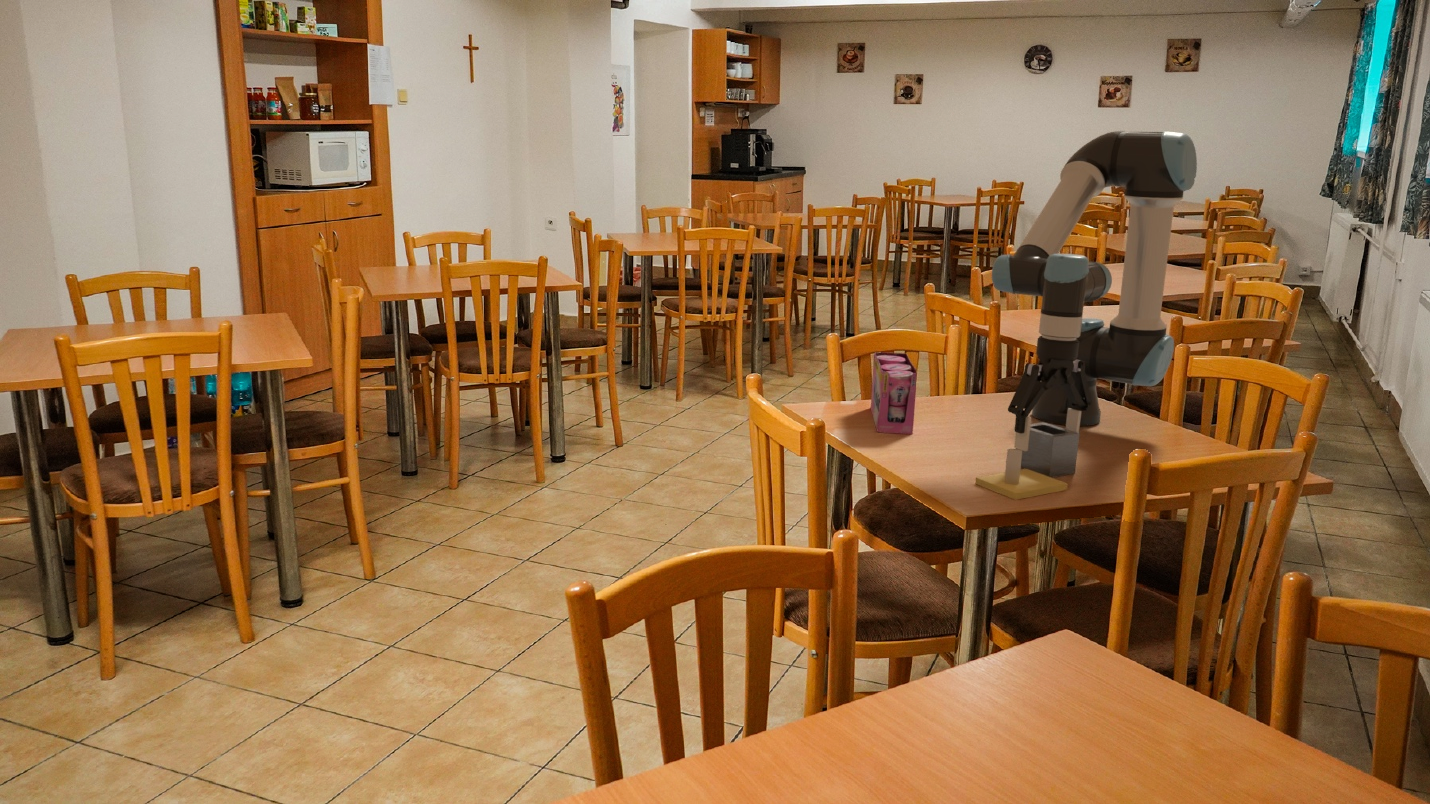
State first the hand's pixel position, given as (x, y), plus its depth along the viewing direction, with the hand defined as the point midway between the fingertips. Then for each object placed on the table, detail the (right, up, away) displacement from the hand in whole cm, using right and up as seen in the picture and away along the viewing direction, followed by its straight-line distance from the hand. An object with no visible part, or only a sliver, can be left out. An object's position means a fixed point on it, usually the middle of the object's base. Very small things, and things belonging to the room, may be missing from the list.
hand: (1046, 445), depth 204 cm
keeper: (-8, -7, -10) cm, 14 cm away
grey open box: (0, -5, +1) cm, 5 cm away
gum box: (-24, +4, +35) cm, 43 cm away
